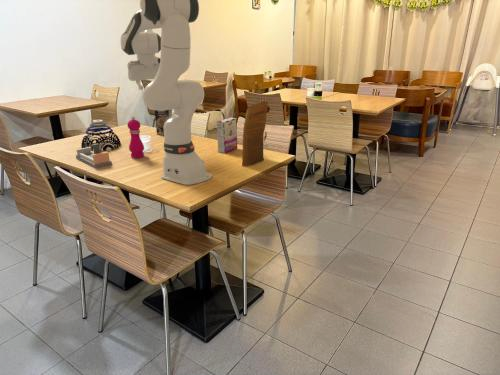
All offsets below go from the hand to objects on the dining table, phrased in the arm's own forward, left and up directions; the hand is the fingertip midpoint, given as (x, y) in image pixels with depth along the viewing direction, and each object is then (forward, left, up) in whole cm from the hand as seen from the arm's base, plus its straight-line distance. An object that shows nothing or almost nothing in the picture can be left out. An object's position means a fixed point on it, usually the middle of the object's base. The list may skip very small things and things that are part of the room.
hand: (149, 88), depth 194 cm
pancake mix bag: (-57, -19, -31) cm, 68 cm away
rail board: (0, +34, -31) cm, 46 cm away
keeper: (-6, +34, -29) cm, 45 cm away
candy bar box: (-32, -24, -31) cm, 51 cm away
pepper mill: (-8, +15, -31) cm, 36 cm away
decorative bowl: (+24, +19, -32) cm, 44 cm away
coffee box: (+24, -22, -31) cm, 45 cm away
